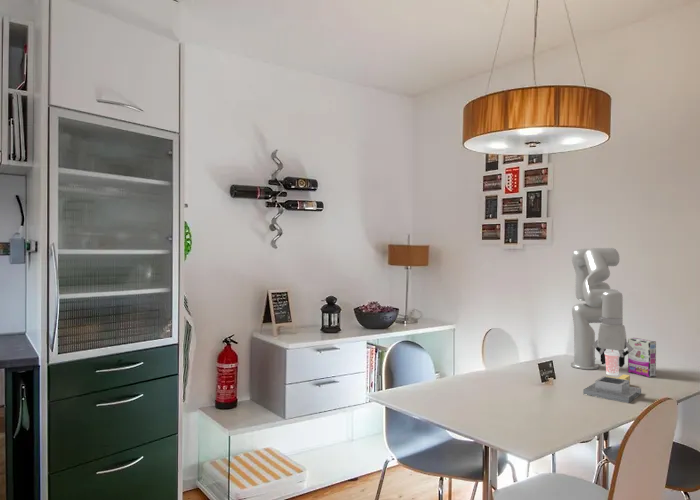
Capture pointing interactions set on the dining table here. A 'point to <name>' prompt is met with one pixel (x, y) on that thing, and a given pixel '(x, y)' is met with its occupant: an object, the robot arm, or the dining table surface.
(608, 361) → the beverage cup
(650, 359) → the candy bar box
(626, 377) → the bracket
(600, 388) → the stacked grey tray
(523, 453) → the dining table surface
